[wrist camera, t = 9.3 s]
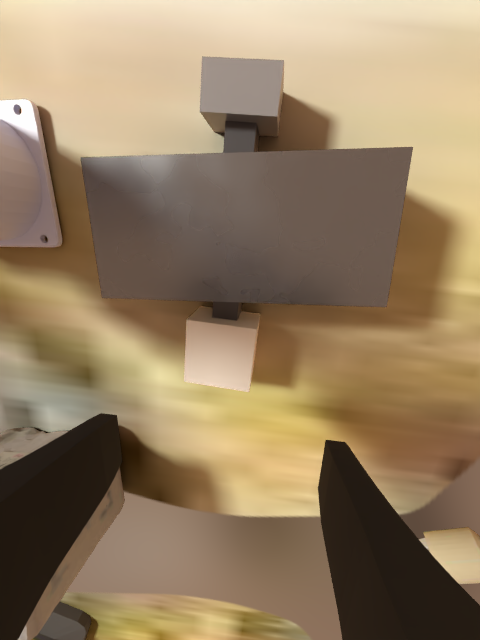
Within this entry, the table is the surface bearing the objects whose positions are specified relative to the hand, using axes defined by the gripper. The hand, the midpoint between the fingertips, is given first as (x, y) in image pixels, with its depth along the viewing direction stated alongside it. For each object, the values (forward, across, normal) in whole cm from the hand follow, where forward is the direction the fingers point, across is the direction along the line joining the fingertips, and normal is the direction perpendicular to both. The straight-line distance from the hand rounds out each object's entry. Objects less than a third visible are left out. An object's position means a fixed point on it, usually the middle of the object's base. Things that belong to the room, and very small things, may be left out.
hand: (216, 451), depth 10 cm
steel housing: (+10, 0, -7) cm, 12 cm away
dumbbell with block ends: (+10, +1, -6) cm, 12 cm away
